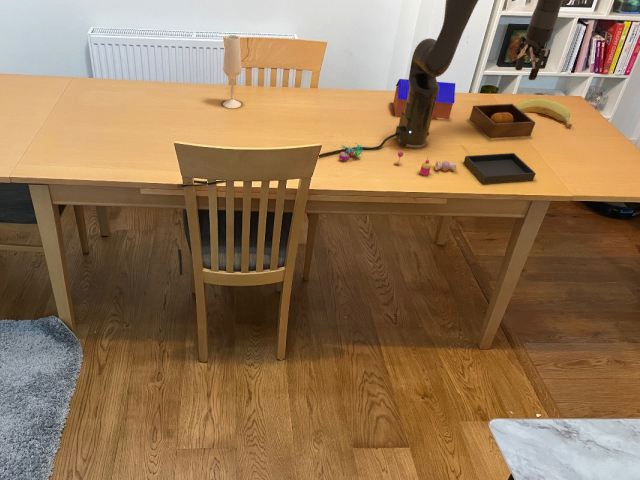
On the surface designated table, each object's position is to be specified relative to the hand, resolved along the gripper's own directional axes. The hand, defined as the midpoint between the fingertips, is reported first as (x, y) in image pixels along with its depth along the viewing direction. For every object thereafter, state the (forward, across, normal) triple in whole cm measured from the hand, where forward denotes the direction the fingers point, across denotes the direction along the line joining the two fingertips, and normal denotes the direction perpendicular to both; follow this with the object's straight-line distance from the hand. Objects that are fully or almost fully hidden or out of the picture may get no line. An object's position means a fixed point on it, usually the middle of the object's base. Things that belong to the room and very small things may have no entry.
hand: (524, 74), depth 196 cm
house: (+20, -18, -25) cm, 37 cm away
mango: (+19, -2, -2) cm, 20 cm away
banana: (+20, -8, +20) cm, 30 cm away
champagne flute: (+21, -32, -94) cm, 101 cm away
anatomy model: (+20, +12, -63) cm, 67 cm away
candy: (+20, +23, -41) cm, 51 cm away
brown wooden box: (+20, -2, -2) cm, 20 cm away
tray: (+20, +27, -18) cm, 38 cm away
